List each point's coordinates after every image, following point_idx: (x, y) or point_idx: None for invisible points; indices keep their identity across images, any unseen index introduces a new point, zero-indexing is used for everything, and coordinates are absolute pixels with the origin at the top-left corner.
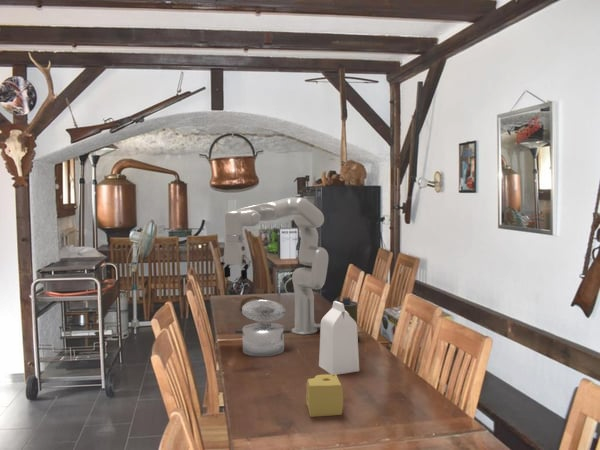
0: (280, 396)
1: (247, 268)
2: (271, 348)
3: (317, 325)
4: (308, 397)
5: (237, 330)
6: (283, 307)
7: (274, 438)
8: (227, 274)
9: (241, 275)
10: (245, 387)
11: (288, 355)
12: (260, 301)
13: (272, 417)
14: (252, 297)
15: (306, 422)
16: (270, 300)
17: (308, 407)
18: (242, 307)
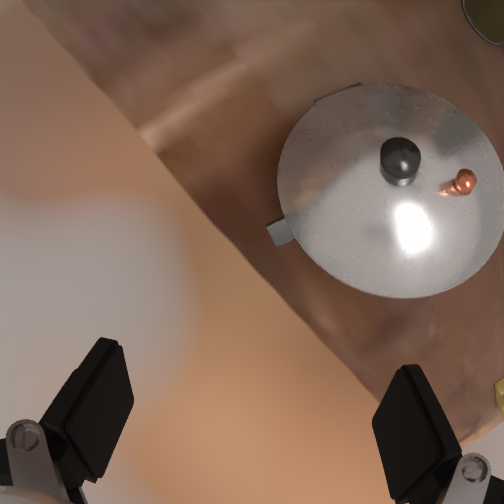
0: (465, 387)
1: (479, 472)
2: None
3: None
4: (502, 405)
5: (283, 241)
6: (498, 163)
7: (464, 442)
8: (118, 403)
9: (385, 453)
10: None
11: None
12: (454, 286)
13: (460, 424)
14: None
15: (491, 410)
16: (495, 248)
17: (496, 394)
18: (310, 256)
